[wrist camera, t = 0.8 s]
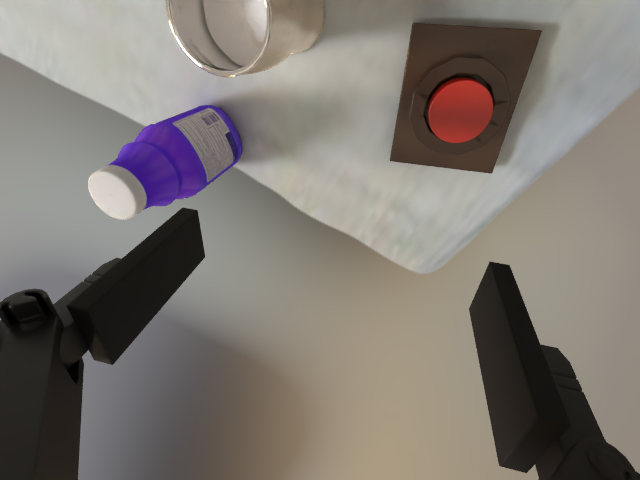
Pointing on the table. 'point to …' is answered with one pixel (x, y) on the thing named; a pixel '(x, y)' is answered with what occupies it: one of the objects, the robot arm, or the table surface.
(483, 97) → the button
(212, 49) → the beer glass
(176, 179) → the bottle
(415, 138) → the box
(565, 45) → the table surface
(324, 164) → the table surface
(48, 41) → the table surface
